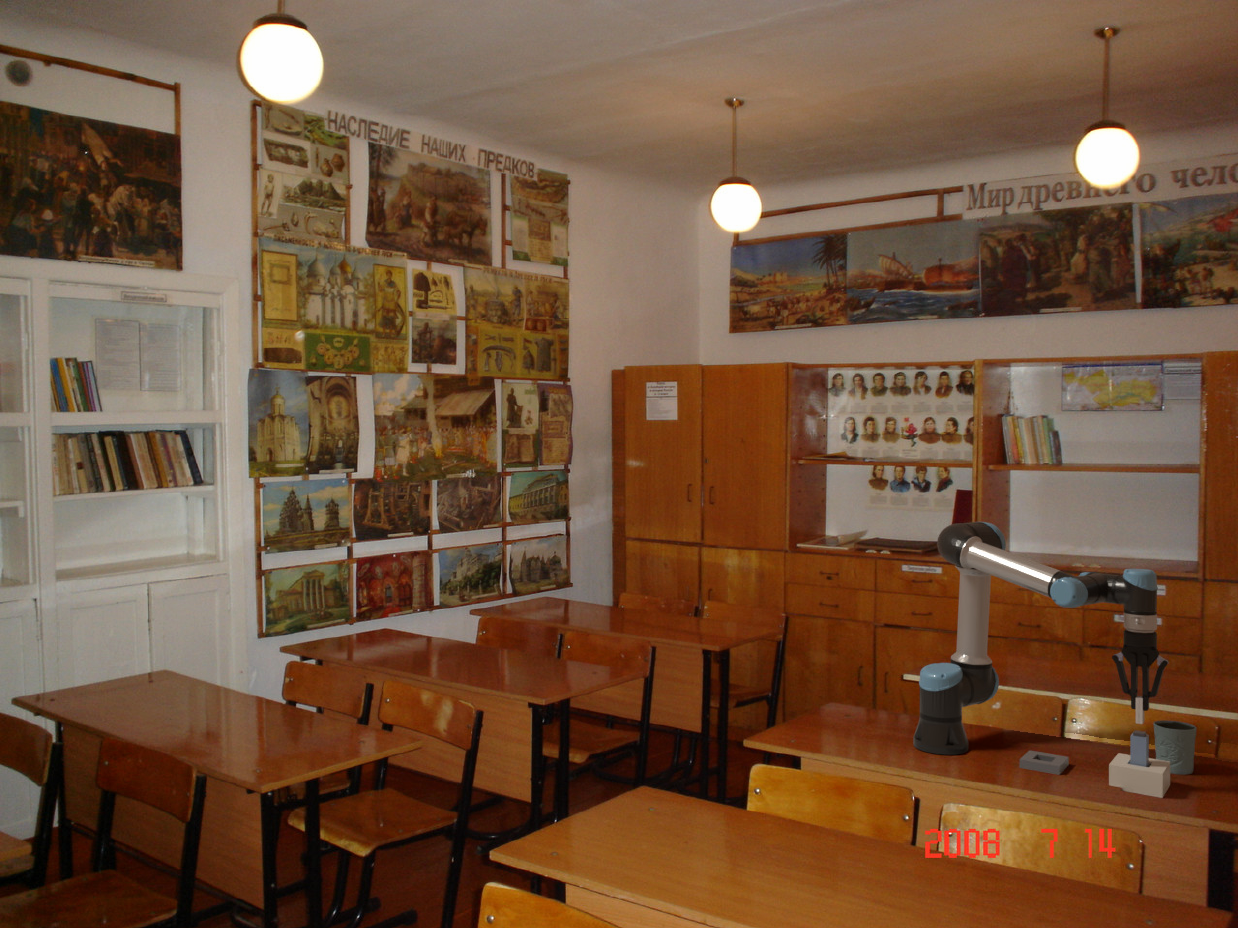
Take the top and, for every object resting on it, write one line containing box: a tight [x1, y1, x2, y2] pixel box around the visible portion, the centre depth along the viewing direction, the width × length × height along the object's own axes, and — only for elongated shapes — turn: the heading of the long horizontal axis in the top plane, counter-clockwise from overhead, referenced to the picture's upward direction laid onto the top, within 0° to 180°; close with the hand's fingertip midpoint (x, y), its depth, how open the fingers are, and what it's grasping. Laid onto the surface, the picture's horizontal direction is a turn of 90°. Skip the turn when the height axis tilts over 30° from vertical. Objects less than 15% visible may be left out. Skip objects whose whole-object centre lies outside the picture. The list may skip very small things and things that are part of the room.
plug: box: [1129, 729, 1150, 767], centre depth 250 cm, size 4×4×13 cm
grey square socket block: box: [1019, 750, 1070, 775], centre depth 264 cm, size 10×10×3 cm
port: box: [1108, 752, 1171, 799], centre depth 250 cm, size 12×12×6 cm
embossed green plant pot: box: [1153, 719, 1197, 776], centre depth 264 cm, size 10×10×12 cm
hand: (1140, 722), depth 250 cm, fingers closed
